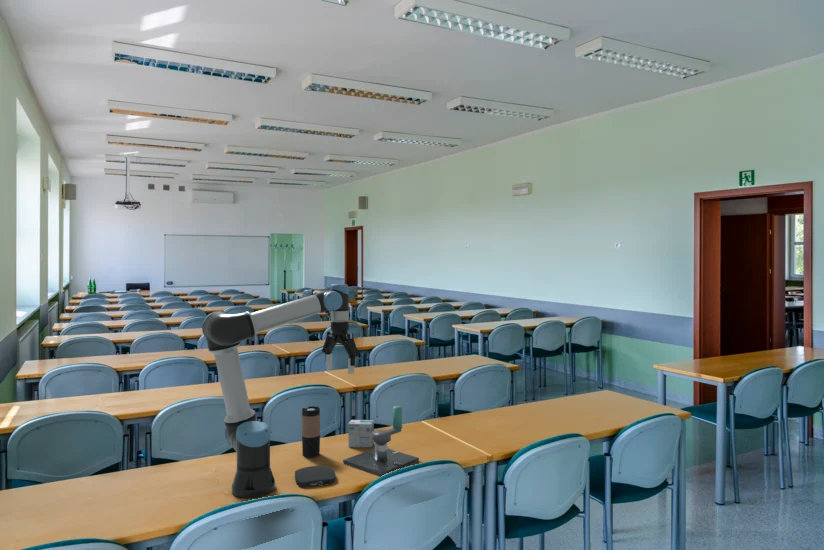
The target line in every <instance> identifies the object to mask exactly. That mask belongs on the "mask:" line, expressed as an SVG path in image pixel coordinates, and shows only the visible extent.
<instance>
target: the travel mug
mask: <svg viewBox="0 0 824 550" xmlns="http://www.w3.org/2000/svg"><path fill="white" fill-rule="evenodd" d="M320 410H321V409H320V407H319V406H314V405H313V406H310V405H309V406H308V407H302V409H301V441H302V442H301V445H302V448H301V449H302V457H303V456H304V458H306V459H311V458H316V457H317V458H318V457H319V456H320V454H321V453H320V450H321V449H320V448H321V446H320V445H321V411H320Z"/></svg>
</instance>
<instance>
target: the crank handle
mask: <svg viewBox="0 0 824 550" xmlns="http://www.w3.org/2000/svg"><path fill="white" fill-rule="evenodd" d="M402 429H403V406H402V405H394V406H393V407H392V428H390V429H375V430H374V431H373V432H371V441H372V442H374V444H375V443H386V442H387V443H389V442H391V441H392V435H395V434H399V433H401V432H402Z"/></svg>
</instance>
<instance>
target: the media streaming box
mask: <svg viewBox="0 0 824 550" xmlns="http://www.w3.org/2000/svg"><path fill="white" fill-rule="evenodd" d="M336 477H337V476H336V472H335V469H334V468H333V467H332V466H328V465H327V466H326V465H312V466H306V467H301V468H299V469H296V470H295V471H294V480H295V483H296V486H297V485H298V486H297V487H300V488H312V487H322V486H321V485H323V486H327V485H326V484H330V485H332V484H331V483H333V484H335V483H336V482H335V481H337V478H336ZM334 482H335V483H334Z"/></svg>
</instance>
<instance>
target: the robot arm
mask: <svg viewBox="0 0 824 550" xmlns="http://www.w3.org/2000/svg"><path fill="white" fill-rule="evenodd" d="M349 299H350V289H349V285H348V284H347V283H332V284H330V288H326V289H323V288H322V289H320V288H319V289H316V288H315V289H305V290H303V292H302V294H301V297H300V298H298V299H294V300H291V301H287V302H284V303H282V304H281V303H280V304H278V305H275V306H271V307H268V308H265V309H261V310H257V311H254V312H249V311H243V312H241V313H240V312H239V313H229V312H227V311H224V310H221V311H220V310H219V311H213V312H211V313H209V314H208V315H207V316H206V317H205V318H204V319H203V322H202V325H201V329H202V330H201V331H202V334H203V336H204V337H205V340H206V343H207V347H208V351H209V352H210V353H211V354H213V355H214V359H215V365H216V369H217V374H218V379H219V383H220V388H221V392H222V397H223V401H224V407H225V411H226V415H225V416H224V417H225V418H224V419H223V421H224V422H223V423H224V426H225V429H224V435H225V439H226V442H227V443H228V445H230V446H231V447H232V449H234V451H235V452H236V472H235V474H234V478H233V481H232V484H231V493H232V495H233V496H235V497H238V498H243V499H247V498H248V499H251V498H258V497H259V498H260V497H263V496H262V495H264V496H266V495H268V494H270V492H271V493H273V492H274V491H275V489H276V480H275V477H274V474H273V471H272V468H271V430H270V426H269V425H268V424H267V423H266V422H264V421H258V418H257V414H256V411H255V410H254V409H252V408H251V406H250V401H249V397H248V391H247V388H246V382H245V378H244V377H245V376H244V374H243V373H244V372H243V368H242V362H241V359H240V355H239V350H238V348H239V347H240V345H241V344H242V343H241V342H243V341H246V340H249V339H252V338H255V337H256V336H257V334H258V333H262V332H265V331H267V330H268V331H269V330H272V329H274V328H278V327H281V326H284V325H287V324H291V323H294V322H297V321H300V320H303V319H306V318H309V317H312V316H316V315H318V314H323V313H325V312H328V311H330V330H329V331H326V337H325V340H324V344H323V346H322V349H321V352H322V353H323V354H324V355H325V363H326V368H325V369H326V370H325V371H330V370H333V353H332V351H333V350H334V349H335V347H336V345H337V344H341V345H342V346H343V348H344V350H345V352H346V354H347V355H348V357H347V361H348V362H347V370H348V373H347V374H348V375H352V374H353V375H354V374H355V366H356V358H357V357H359V356H360V353H359V351H358V348H357V345H356V342H355V339H354V333H351V332H350V333H348V331H349V329H350V321H349V320H350V308H349V307H350V300H349ZM265 494H266V495H265Z"/></svg>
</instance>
